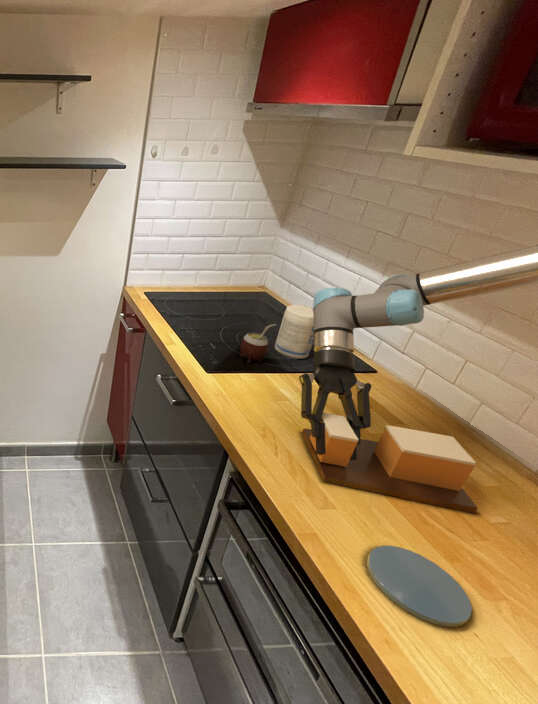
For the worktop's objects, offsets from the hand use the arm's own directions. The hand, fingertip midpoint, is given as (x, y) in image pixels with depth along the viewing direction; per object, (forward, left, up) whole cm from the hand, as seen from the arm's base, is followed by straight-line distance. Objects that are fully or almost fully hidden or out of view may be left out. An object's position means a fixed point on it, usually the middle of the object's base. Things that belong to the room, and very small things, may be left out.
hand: (335, 456), depth 95 cm
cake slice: (+1, -3, -2) cm, 4 cm away
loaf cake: (-14, -9, -2) cm, 17 cm away
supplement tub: (+14, -53, -4) cm, 55 cm away
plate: (-13, +22, -4) cm, 26 cm away
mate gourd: (+23, -40, -4) cm, 46 cm away
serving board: (-9, -7, -4) cm, 12 cm away
